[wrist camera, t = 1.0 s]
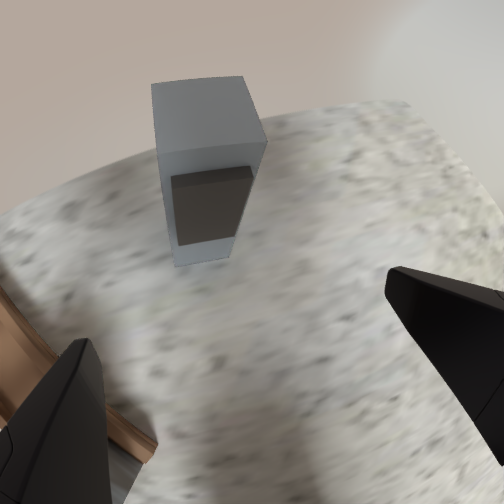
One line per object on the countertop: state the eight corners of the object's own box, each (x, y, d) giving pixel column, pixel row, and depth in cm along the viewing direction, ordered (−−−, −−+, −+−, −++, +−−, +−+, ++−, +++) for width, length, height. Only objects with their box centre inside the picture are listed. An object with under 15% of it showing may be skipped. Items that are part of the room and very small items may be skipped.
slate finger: (230, 264, 23) (272, 154, 11) (176, 275, 22) (158, 167, 10) (217, 209, 24) (242, 75, 12) (166, 217, 23) (151, 83, 11)
